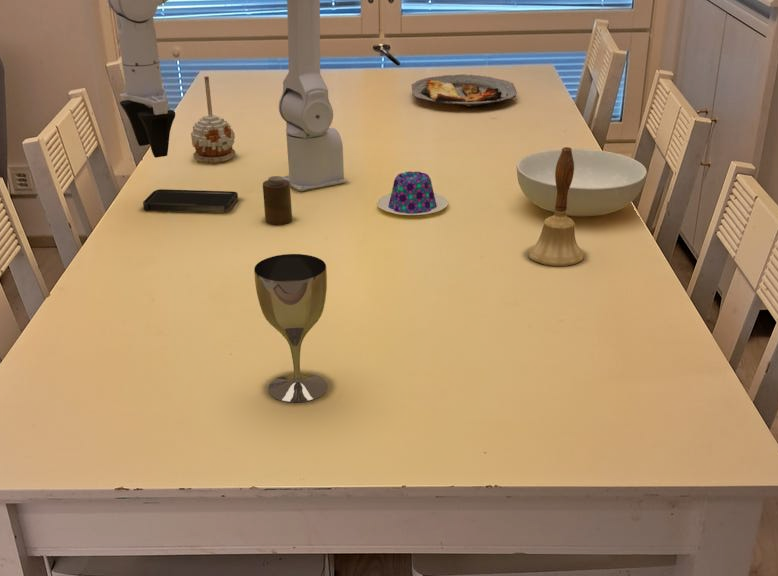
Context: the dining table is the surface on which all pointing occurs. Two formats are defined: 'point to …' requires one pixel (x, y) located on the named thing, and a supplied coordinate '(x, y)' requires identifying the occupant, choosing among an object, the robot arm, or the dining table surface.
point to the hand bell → (559, 223)
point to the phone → (191, 201)
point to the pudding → (412, 196)
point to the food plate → (463, 90)
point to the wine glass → (293, 315)
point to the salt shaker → (277, 201)
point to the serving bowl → (583, 181)
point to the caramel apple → (212, 135)
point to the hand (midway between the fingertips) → (152, 150)
